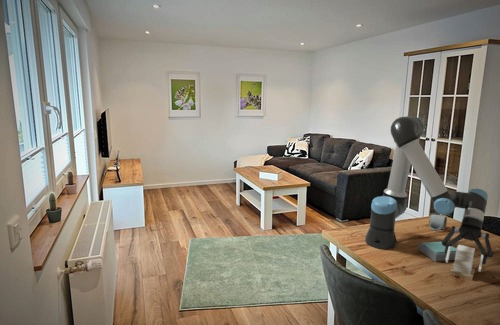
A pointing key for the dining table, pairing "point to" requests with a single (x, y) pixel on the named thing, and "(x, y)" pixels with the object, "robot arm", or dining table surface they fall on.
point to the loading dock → (436, 251)
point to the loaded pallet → (463, 262)
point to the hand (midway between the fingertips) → (462, 265)
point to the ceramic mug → (437, 222)
